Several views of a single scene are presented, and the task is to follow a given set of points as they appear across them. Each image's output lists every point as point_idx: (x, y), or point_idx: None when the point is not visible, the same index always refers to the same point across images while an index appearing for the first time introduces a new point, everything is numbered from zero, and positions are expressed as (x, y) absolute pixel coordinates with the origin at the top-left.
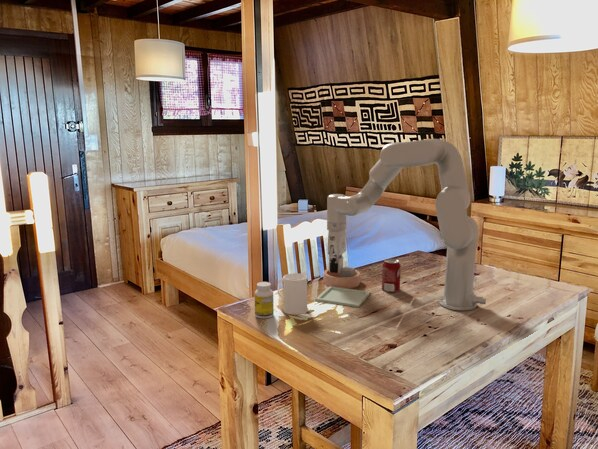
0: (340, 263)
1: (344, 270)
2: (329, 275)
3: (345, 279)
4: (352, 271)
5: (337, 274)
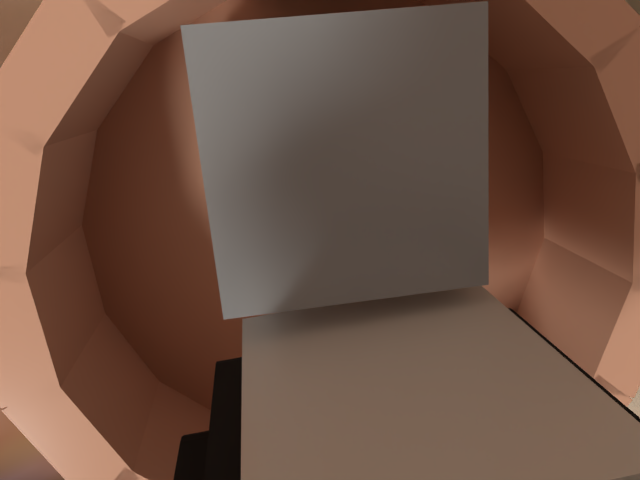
0: (494, 384)
1: (485, 190)
2: (602, 373)
3: (636, 48)
4: (399, 10)
5: (156, 405)
